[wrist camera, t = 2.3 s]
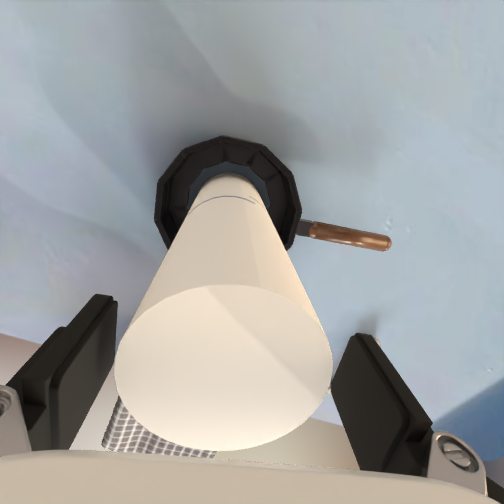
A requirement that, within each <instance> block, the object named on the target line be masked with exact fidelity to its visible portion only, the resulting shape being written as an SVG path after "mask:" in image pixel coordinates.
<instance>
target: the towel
mask: <svg viewBox="0 0 504 504" xmlns="http://www.w3.org/2000/svg"><path fill="white" fill-rule="evenodd" d="M101 445H102V446H103V447H104V448H108V449H110V450H112V451H113V450H116V451H117V452H130V453H146V454H160V455H174V456H187V457H201V458H213V457H214V456H215V454H216V452H217V451H209V450H199V449H194V448H189V447H184V446H181V445H178V444H175V443H172V442H170V441H167V440H165V439H163V438H161V437H159V436H157V435H155V434H154V433H152V432H150V431H149V430H147V429H146V428H145V427H144V426H142V425H141V424H140V423H139V422H138V421H136V420H135V419H134V417H133V416H132V415H131V414H130V412H129V411H128V410H127V409H126V407H125V406H124V404H123V402H122V400H121V398H120V396H118V400H117V402H116V404H115V407H114V410H113V414H112V416H111V419H110V421H109V425H108V426H107V429H106V432H105V434H104V437H103V440H102V444H101Z"/></svg>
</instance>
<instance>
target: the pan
mask: <svg viewBox="0 0 504 504" xmlns="http://www.w3.org/2000/svg"><path fill="white" fill-rule="evenodd" d="M225 161H226V162H231V163H235V164H240V165H245V166H249V167H250V168H251V169H252V170H253V171H254V172H255V173H256V174H257V175H258V176H259V177H260V178H261V179H262V180H263V181H265V184H266V187H267V191H268V194H269V198H270V201H271V204H270V209H269V213H268V214H269V216H270V218H271V220H272V223H273V225H274V227H275V229H276V231H277V233H278V235H279V237H280V239H281V242H282V244H283V246H284V248H285V250H286V251H287V250H288V249H289V248H290V247H291V245H293V242H294V238H295V235H300V236H305V237H311V238H314V239H320V240H325V241H330V242H335V243H341V244H346V245H351V246H356V247H362V248H367V249H372V250H377V251H386V250H388V249H389V248H390V247H391V244H392V242H391V239H390V238H389V237H388V236H386V235H381V234H376V233H371V232H366V231H361V230H356V229H351V228H346V227H341V226H336V225H331V224H326V223H321V222H316V221H313V222H312V221H310V220H305V219H300V217H301V214H302V207H301V203H300V199H299V195H298V191H297V187H296V183H295V179H294V175H293V174H292V172H291V171H290V170H289V169H288V168H287V167H286V166H285V165H284V164H283V163H282V162H281V161H280V160H279V159H278V158H277V157H276V156H275V155H274V154H273V153H272V152H271V151H270V150H269V149H268V148H267V147H266V146H264V145H262V144H259V143H256V142H251V141H247V140H243V139H239V138H234V137H230V136H226V135H224V136H223V135H222V136H219V137H217V138H214V139H211V140H208V141H205V142H202V143H199V144H196V145H193V146H190V147H188V148H185V149H184V150H182V151H181V152H180V153H179V155H178V156H177V157H176V158H175V160H174V161H173V162H172V164H171V165H170V166H169V167H168V169H167V170H166V171H165V172H164V174H163V175H162V176H161V178H160V179H159V180H158V181H159V182H158V183H157V193H156V203H155V213H154V221H155V224H156V226H157V228H158V230H159V232H160V234H161V236H162V238H163V241H164V243H165V245H166V247H167V249H168V250H169V248H170V246H171V245H172V243H173V241H174V239H175V237H176V235H177V233H178V231H179V229H180V228H181V226H182V224H183V222H184V220H185V218H186V216H187V214H188V210H187V202H188V195H189V188H190V185H191V184H192V183H193V181H194V180H195V179H196V178H197V177H198V175H199V174H200V173H201V172H202V170H203V169H205V168H208V167H211V166H214V165H216V164H219V163H222V162H225Z"/></svg>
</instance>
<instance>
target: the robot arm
mask: <svg viewBox="0 0 504 504" xmlns="http://www.w3.org/2000/svg"><path fill="white" fill-rule="evenodd" d="M117 307H118V302H117V301H114V300H113V297H112V296H107V295H101V294H95V295H94V296H93V297H92V298H91V299H90V300H89V302H88V303H87V304H86V305H85V306H84V307H83V308H82V310H81V311H80V312H79V313H78V314H77V315H76V316H75V318H74V319H73V320H72V321H71V322H70V323H69V325H68V326H67V327H59V328H58V329H56V330H55V331H54V332H53V334H52V335H51V336H50V337H49V338H48V339H47V340H46V341H45V342H44V343H43V345H42V346H41V347H40V348H39V349H38V350H37V351H36V352H35V353H34V355H33V356H32V357H31V358H30V359H29V360H28V361H27V362H26V363H25V364H24V366H22V368H21V369H20V370H19V371H18V372H17V373H16V374H15V375H14V377H13V378H12V379H11V380H10V381H9V382H8V383H7V384H6V385H5V386H4V385H0V504H504V488H502V487H501V486H499V485H498V484H497V483H495V482H494V481H492V480H491V479H489V478H488V477H487V476H486V473H485V468H484V464H483V462H482V460H481V459H480V457H479V456H478V454H477V453H476V452H475V451H474V450H473V449H472V448H471V447H470V446H469V445H468V444H467V443H466V442H464V441H463V440H462V439H460V438H459V437H457V436H455V435H453V434H451V433H449V432H445V431H436V432H433V430H432V429H431V425H432V424H433V422H432V421H431V419H430V418H429V417H428V415H427V414H426V412H425V411H424V409H423V408H422V407H421V405H420V404H419V402H418V401H417V399H416V398H415V396H414V395H413V394H412V392H411V391H410V389H409V388H408V386H407V385H406V384H405V382H404V381H403V379H402V378H401V376H400V375H399V374H398V372H397V371H396V369H395V368H394V366H393V365H392V364H391V362H390V361H389V359H388V358H387V356H386V355H385V353H384V352H383V351H382V349H381V348H380V346H379V345H378V343H377V342H376V341H375V339H374V338H373V336H372V335H368V334H361V333H356V334H355V335H354V336H351V338H350V340H349V342H348V344H347V347H346V349H345V352H344V354H343V356H342V359H341V361H340V364H339V366H338V368H337V371H336V373H335V376H334V378H333V380H332V383H331V394H332V397H333V399H334V402H335V405H336V407H337V410H338V412H339V415H340V418H341V420H342V423H343V426H344V428H345V431H346V433H347V436H348V439H349V441H350V444H351V446H352V449H353V452H354V454H355V457H356V460H357V462H358V465H359V467H360V470H349V469H338V468H327V467H314V466H303V465H290V464H278V463H265V462H252V461H239V460H228V459H227V460H226V459H214V458H201V457H187V456H174V455H160V454H146V453H130V452H111V451H94V450H69V448H70V446H71V444H72V443H73V441H74V439H75V437H76V435H77V433H78V431H79V429H80V427H81V425H82V423H83V421H84V420H85V418H86V416H87V414H88V412H89V410H90V408H91V406H92V404H93V402H94V400H95V398H96V397H97V395H98V393H99V391H100V389H101V387H102V385H103V383H104V381H105V379H106V377H107V375H108V374H109V372H110V370H111V368H112V365H113V362H114V357H115V341H116V324H117Z"/></svg>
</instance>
